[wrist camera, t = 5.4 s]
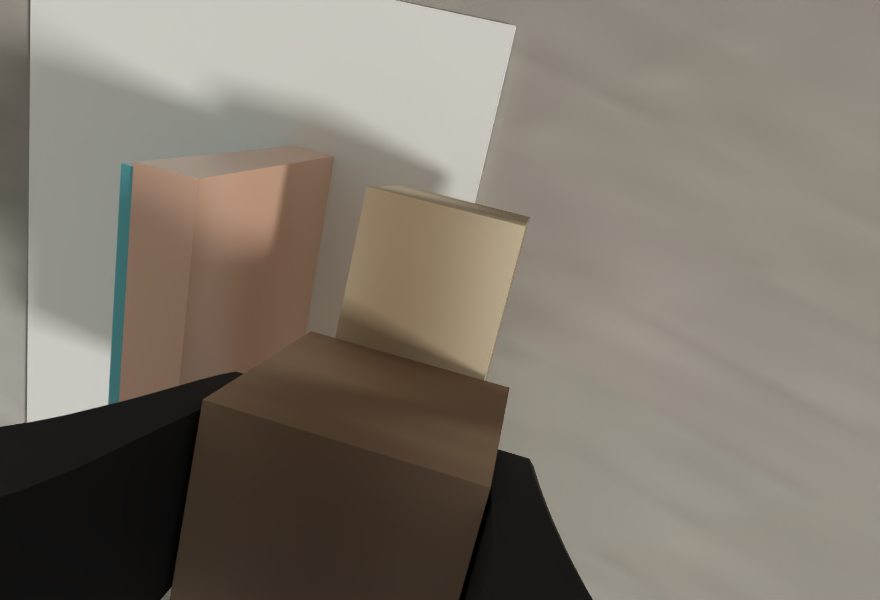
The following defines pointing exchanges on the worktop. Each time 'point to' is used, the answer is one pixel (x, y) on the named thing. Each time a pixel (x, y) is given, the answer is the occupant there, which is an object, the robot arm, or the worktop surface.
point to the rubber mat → (231, 135)
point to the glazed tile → (213, 263)
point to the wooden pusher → (363, 424)
